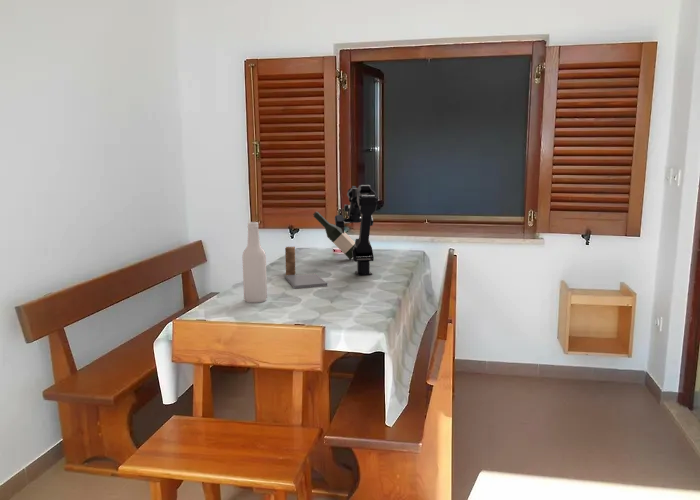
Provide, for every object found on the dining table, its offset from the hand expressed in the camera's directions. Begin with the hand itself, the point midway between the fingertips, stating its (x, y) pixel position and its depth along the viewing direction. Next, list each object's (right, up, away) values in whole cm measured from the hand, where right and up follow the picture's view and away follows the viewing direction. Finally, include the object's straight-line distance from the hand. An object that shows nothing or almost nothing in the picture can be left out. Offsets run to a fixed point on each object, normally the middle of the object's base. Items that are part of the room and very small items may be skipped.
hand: (352, 232), depth 289 cm
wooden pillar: (-29, -20, -27) cm, 44 cm away
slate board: (-21, -23, -42) cm, 52 cm away
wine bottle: (+2, -11, +5) cm, 13 cm away
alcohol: (-37, -28, -71) cm, 85 cm away
